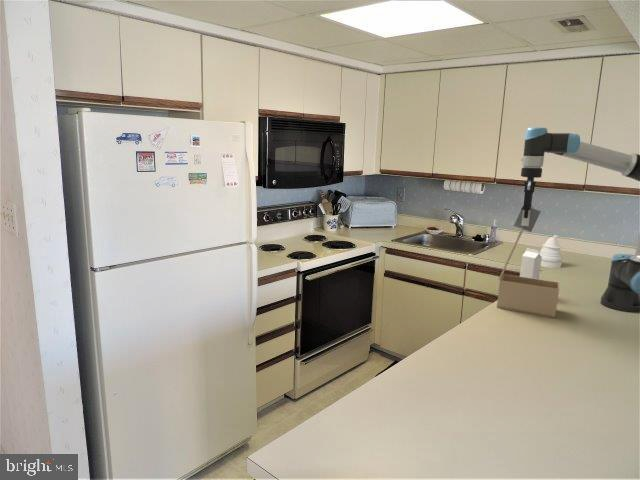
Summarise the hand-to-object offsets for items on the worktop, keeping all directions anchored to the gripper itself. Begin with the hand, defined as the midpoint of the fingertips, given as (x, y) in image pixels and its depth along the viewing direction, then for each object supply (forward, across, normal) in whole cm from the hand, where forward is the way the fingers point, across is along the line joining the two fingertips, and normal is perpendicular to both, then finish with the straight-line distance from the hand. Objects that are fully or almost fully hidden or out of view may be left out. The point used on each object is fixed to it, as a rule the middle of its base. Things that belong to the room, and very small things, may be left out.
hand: (525, 225), depth 185 cm
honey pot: (+36, -89, +10) cm, 96 cm away
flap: (+9, 0, +1) cm, 9 cm away
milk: (+35, -19, +3) cm, 40 cm away
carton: (+35, 0, +4) cm, 36 cm away
